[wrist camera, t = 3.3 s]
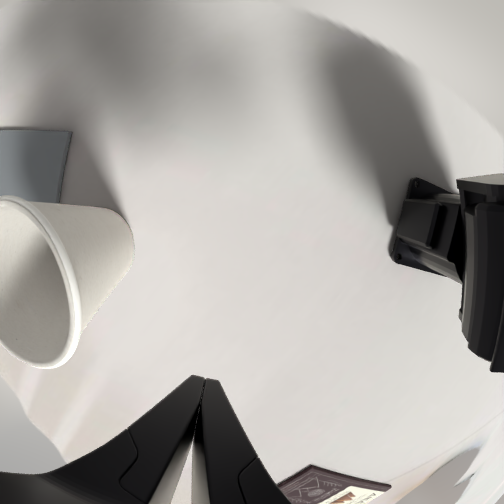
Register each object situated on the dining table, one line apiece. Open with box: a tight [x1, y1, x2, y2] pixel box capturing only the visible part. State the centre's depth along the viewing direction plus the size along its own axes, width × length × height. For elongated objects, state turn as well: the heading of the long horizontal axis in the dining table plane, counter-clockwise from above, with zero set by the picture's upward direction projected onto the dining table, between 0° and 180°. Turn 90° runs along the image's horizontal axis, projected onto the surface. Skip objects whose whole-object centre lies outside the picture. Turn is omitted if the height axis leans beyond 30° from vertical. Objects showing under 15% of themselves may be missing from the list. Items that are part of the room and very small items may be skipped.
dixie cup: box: [0, 195, 135, 369], centre depth 14 cm, size 8×8×10 cm
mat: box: [0, 130, 72, 204], centre depth 18 cm, size 13×16×1 cm
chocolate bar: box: [277, 465, 392, 504], centre depth 26 cm, size 9×1×18 cm
